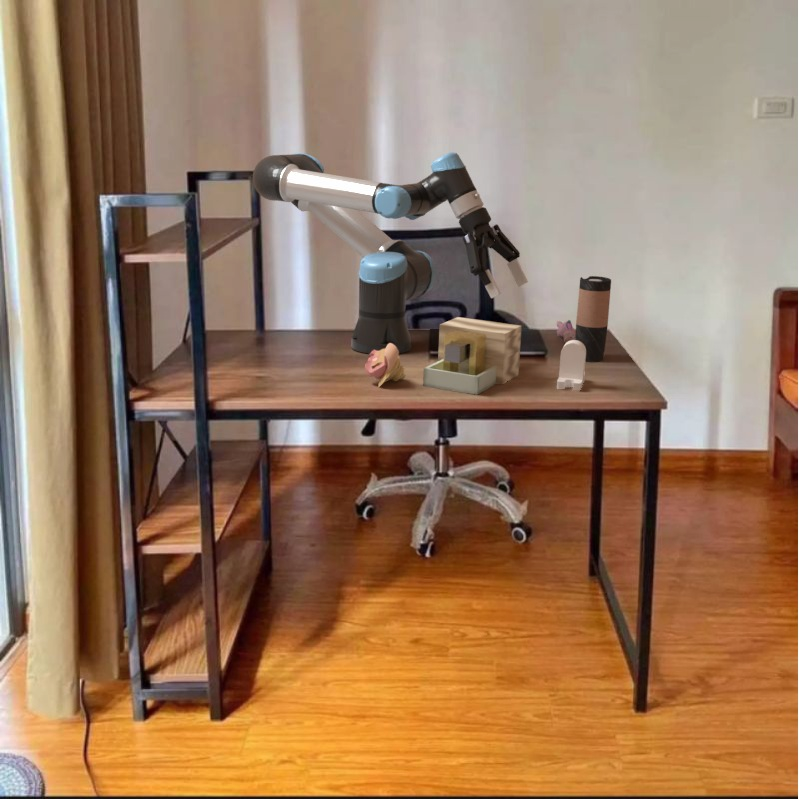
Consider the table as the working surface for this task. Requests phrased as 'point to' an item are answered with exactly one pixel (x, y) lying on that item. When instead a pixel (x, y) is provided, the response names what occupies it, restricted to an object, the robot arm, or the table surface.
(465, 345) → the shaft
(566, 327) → the rabbit figure
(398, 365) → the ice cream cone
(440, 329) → the light wood block
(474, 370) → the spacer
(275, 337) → the table surface
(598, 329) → the travel mug
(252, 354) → the table surface
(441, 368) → the tray
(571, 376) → the white phone stand
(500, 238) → the robot arm
